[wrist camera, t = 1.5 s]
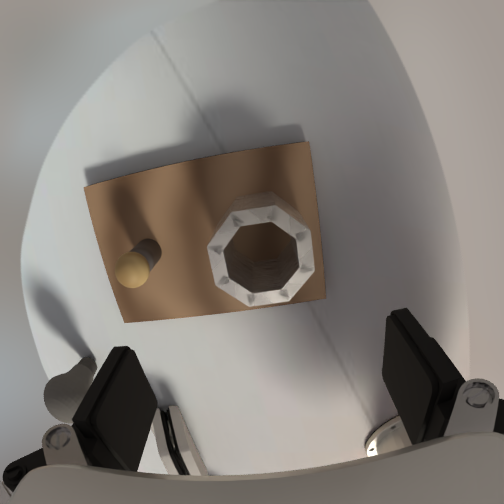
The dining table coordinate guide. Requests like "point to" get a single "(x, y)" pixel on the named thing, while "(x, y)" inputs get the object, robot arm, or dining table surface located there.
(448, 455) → the robot arm
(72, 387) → the light bulb
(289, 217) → the white hollow octagonal cylinder
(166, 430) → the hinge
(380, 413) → the dining table surface
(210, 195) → the keeper base
